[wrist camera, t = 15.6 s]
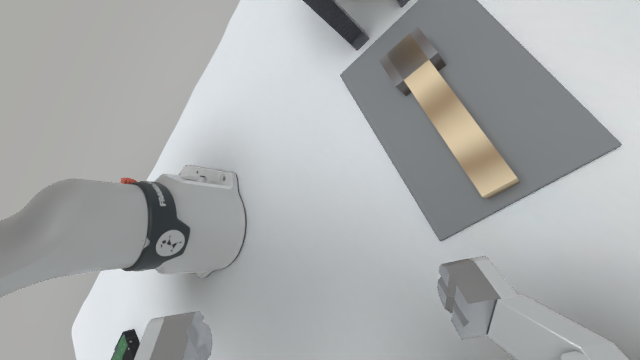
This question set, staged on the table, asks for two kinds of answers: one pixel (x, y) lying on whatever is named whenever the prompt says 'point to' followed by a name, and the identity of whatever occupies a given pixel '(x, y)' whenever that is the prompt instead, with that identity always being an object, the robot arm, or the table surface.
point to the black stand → (342, 20)
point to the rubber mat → (474, 113)
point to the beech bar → (447, 112)
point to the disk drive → (126, 346)
